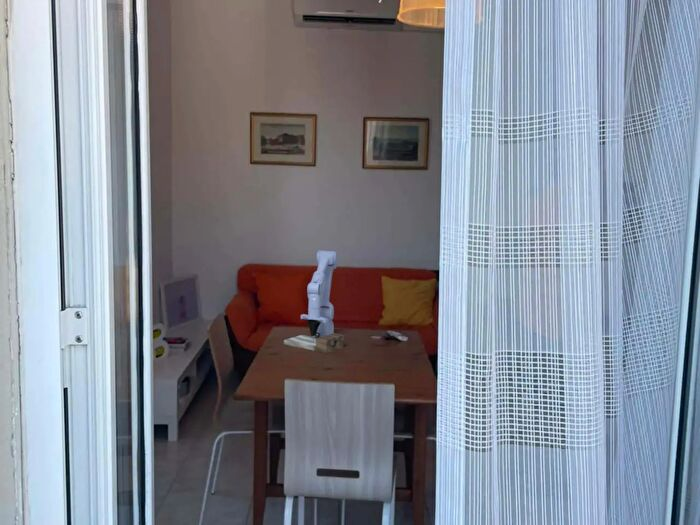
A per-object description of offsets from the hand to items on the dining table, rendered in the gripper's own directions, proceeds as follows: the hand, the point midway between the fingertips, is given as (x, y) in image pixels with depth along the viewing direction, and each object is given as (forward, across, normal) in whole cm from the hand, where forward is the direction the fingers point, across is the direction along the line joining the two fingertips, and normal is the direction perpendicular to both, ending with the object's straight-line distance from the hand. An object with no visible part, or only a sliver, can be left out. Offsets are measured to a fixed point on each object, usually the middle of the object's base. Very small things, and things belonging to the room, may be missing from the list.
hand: (313, 335), depth 288 cm
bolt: (+3, +6, 0) cm, 7 cm away
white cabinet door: (+5, 0, 0) cm, 5 cm away
